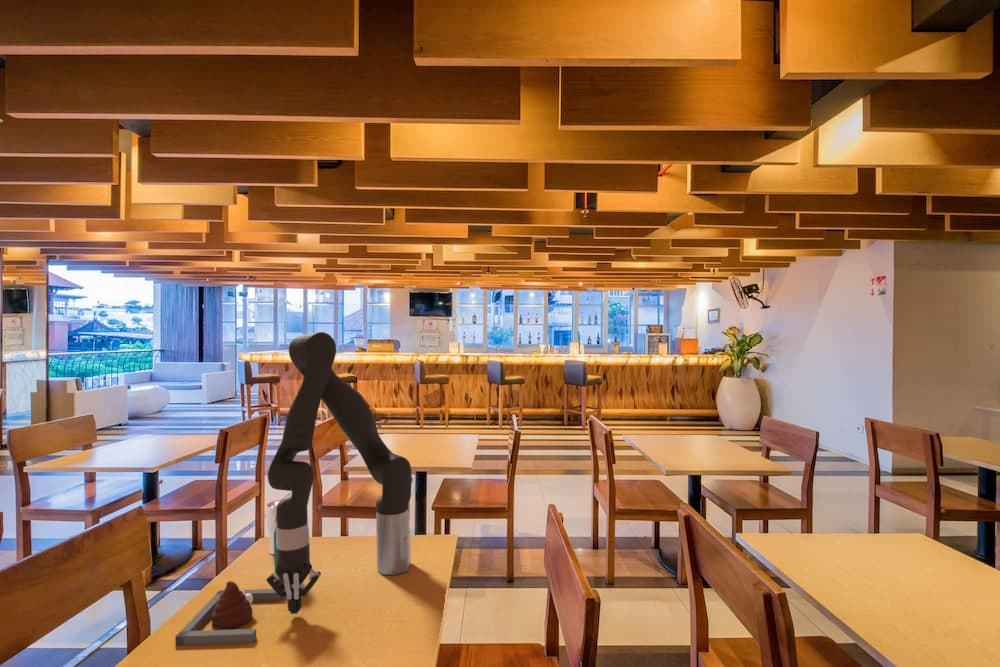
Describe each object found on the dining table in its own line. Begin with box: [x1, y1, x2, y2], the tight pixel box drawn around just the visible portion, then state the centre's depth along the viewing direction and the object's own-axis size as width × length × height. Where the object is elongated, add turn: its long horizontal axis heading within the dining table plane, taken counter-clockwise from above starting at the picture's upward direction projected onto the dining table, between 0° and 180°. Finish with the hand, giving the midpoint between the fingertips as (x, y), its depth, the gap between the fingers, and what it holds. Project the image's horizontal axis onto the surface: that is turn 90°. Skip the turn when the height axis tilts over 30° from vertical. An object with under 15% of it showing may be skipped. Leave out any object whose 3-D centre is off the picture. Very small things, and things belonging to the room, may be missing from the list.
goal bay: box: [174, 588, 285, 646], centre depth 129 cm, size 17×20×2 cm
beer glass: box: [265, 499, 283, 555], centre depth 167 cm, size 7×7×15 cm
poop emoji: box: [210, 580, 254, 630], centre depth 129 cm, size 10×8×9 cm
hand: (295, 612), depth 130 cm, fingers closed
